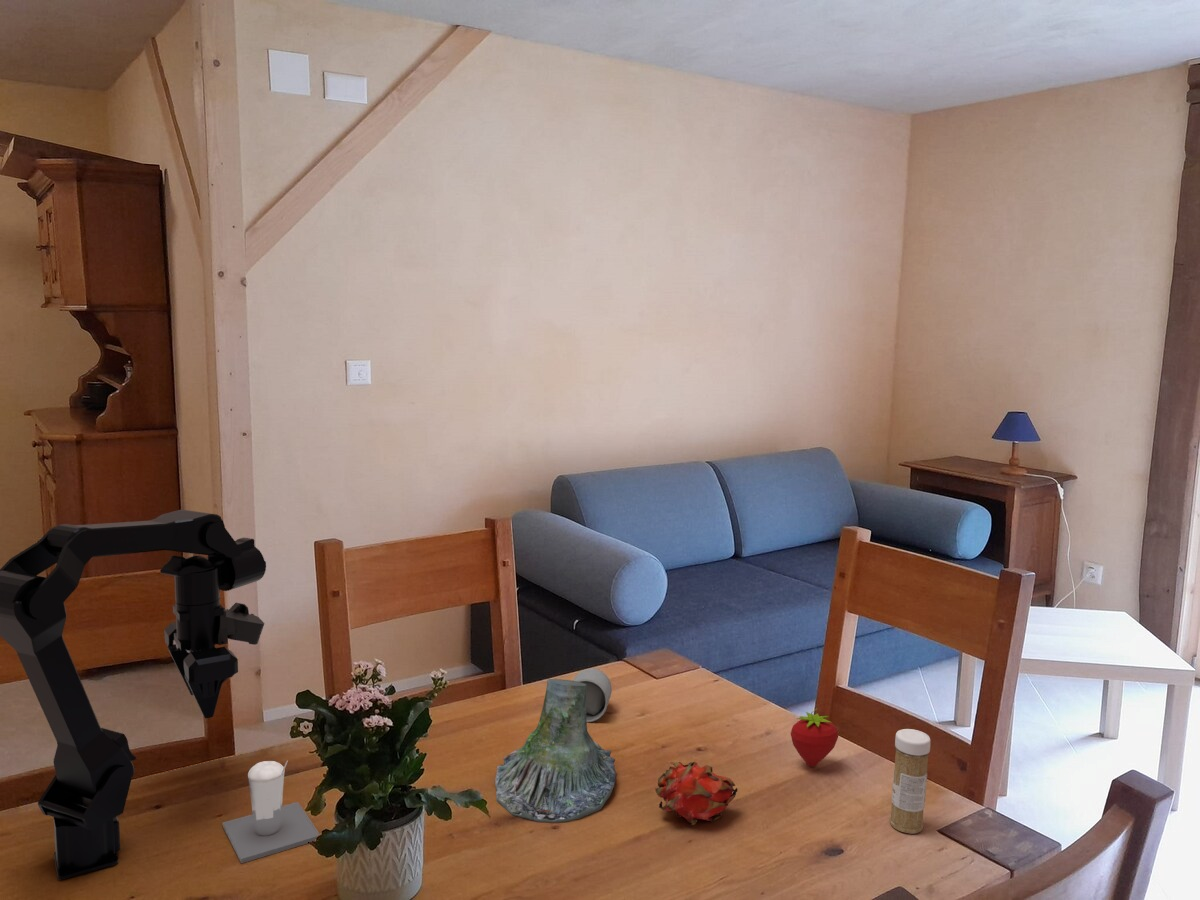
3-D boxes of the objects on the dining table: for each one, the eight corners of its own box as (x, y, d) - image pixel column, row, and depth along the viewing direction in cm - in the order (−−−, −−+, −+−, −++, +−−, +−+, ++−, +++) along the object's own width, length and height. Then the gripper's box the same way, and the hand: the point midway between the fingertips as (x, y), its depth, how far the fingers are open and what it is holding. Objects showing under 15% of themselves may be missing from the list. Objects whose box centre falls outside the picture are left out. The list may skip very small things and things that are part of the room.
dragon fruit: (646, 825, 128) (728, 833, 130) (662, 818, 121) (748, 826, 122) (648, 762, 132) (727, 771, 134) (664, 752, 125) (747, 761, 126)
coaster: (241, 863, 114) (241, 859, 114) (222, 826, 122) (222, 822, 122) (320, 839, 120) (320, 835, 120) (297, 805, 128) (297, 801, 128)
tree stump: (465, 809, 129) (475, 680, 131) (527, 780, 147) (536, 667, 149) (583, 833, 122) (592, 696, 124) (634, 799, 140) (641, 681, 142)
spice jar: (891, 814, 129) (897, 725, 127) (925, 822, 128) (932, 731, 126) (887, 830, 125) (894, 738, 123) (922, 838, 123) (929, 745, 122)
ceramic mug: (612, 705, 164) (613, 664, 163) (607, 724, 156) (607, 681, 155) (555, 701, 166) (555, 661, 165) (546, 720, 158) (546, 678, 157)
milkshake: (280, 841, 118) (278, 768, 117) (242, 836, 119) (240, 764, 118) (298, 823, 122) (296, 752, 121) (261, 818, 123) (259, 748, 122)
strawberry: (843, 774, 141) (847, 712, 139) (797, 777, 139) (801, 715, 138) (826, 756, 147) (830, 697, 145) (782, 759, 145) (785, 700, 144)
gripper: (275, 608, 124) (278, 716, 126) (241, 575, 139) (244, 673, 141) (187, 621, 118) (191, 735, 120) (161, 586, 133) (166, 688, 135)
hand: (201, 705), depth 129 cm, fingers open, 9 cm apart
